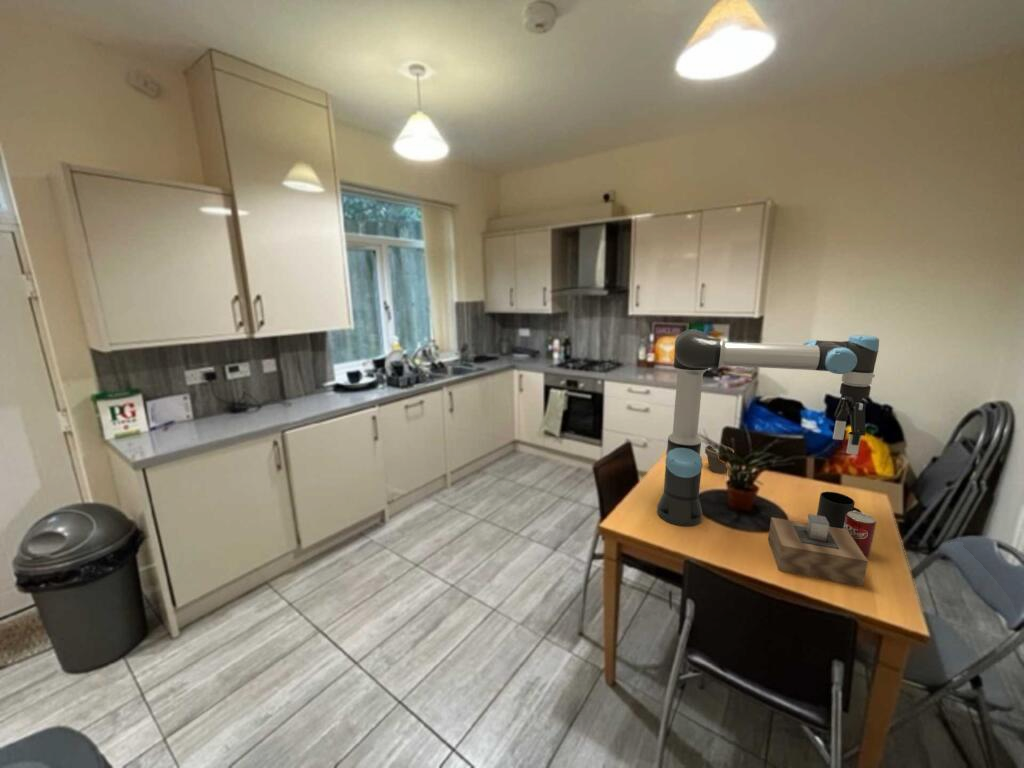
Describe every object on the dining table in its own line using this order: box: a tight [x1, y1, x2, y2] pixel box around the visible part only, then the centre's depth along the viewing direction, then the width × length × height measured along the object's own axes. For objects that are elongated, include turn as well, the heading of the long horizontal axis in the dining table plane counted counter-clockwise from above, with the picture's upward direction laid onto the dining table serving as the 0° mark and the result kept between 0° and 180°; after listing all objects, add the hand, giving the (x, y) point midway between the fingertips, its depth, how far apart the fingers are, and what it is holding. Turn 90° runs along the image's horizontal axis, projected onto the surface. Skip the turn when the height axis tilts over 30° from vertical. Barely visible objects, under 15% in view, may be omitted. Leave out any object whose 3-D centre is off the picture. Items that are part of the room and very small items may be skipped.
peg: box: [806, 513, 830, 542], centre depth 125 cm, size 4×4×8 cm
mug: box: [816, 491, 862, 529], centre depth 146 cm, size 9×12×9 cm
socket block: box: [767, 516, 869, 587], centre depth 126 cm, size 20×16×8 cm
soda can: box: [843, 510, 877, 558], centre depth 130 cm, size 7×7×12 cm
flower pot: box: [704, 444, 735, 474], centre depth 187 cm, size 12×11×10 cm
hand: (844, 446), depth 141 cm, fingers open, 13 cm apart
